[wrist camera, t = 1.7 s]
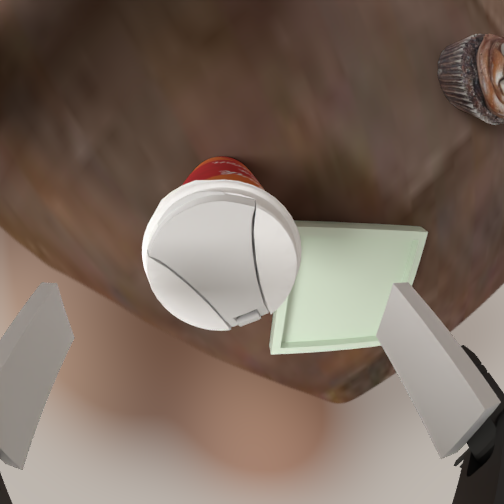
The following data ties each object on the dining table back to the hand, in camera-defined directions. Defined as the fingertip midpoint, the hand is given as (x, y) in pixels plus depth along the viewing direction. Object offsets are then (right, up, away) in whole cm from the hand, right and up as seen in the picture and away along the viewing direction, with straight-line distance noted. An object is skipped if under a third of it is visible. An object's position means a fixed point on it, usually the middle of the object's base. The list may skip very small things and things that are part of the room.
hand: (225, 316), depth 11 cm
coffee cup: (-2, +8, +17) cm, 19 cm away
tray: (+11, -2, +23) cm, 26 cm away
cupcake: (+24, +21, +13) cm, 35 cm away
